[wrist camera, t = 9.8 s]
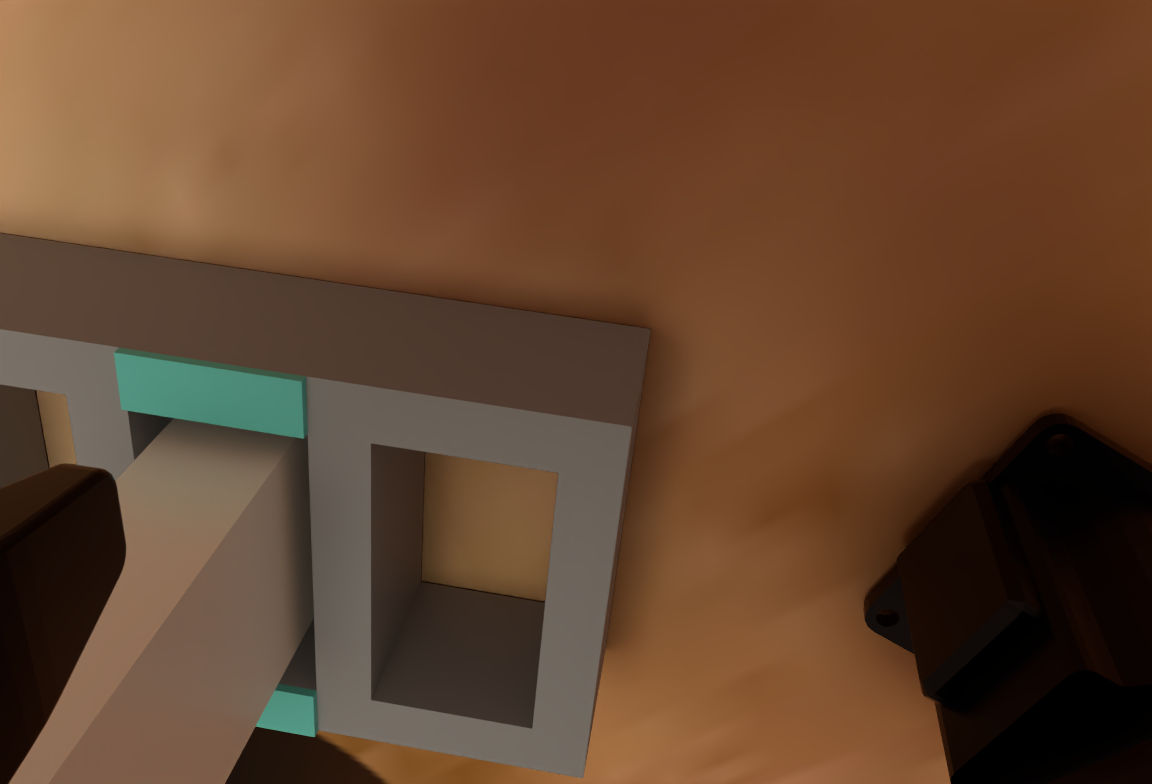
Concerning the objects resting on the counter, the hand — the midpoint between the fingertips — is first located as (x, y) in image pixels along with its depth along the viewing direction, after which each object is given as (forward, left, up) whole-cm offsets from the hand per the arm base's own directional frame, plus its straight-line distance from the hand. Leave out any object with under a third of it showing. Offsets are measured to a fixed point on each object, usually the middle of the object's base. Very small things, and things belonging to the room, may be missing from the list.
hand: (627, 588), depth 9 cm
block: (+4, +11, -13) cm, 17 cm away
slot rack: (+4, +11, -13) cm, 17 cm away
